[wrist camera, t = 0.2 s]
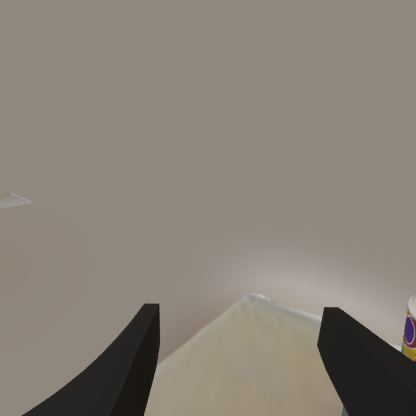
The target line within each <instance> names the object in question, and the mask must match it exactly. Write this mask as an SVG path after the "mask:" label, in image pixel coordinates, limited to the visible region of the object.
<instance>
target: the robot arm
mask: <svg viewBox="0 0 416 416" xmlns="http://www.w3.org/2000/svg"><path fill="white" fill-rule="evenodd" d="M159 315H160V314H159V304H144V305H143V306H142V307H141V309H140V310H139V312H138V313H137V314H136V315H135V317H134V318H133V319H132V321H131V322H130V323H129V324H128V326H127V327H126V328H125V329H124V330H123V331H122V332H121V334H120V335H119V336H118V337H117V338H116V339H115V340H114V341H113V342H112V344H111V345H110V346H109V347H108V348H107V349H106V350H105V351H104V352H103V353H102V354H101V355H100V356H99V357H98V358H97V359H96V360H95V361H94V362H93V363H91V364H90V365H89V366H88V367H87V368H86V369H85V370H84V371H83V372H81V373H80V374H79V375H78V376H76V377H75V378H74V379H73V380H72V381H71V382H69V383H68V384H66V385H65V386H64V387H63V388H61V389H60V390H59V391H58V392H56V393H55V394H54V395H52V396H51V397H49V398H48V399H46V400H45V401H43V402H42V403H40V404H39V405H37V406H36V407H34V408H33V409H31V410H30V411H28V412H27V413H25V414H24V415H22V416H144V413H145V409H146V405H147V401H148V398H149V394H150V390H151V386H152V382H153V378H154V374H155V370H156V366H157V360H158V353H159V346H160V319H159V318H160V316H159ZM317 346H318V349H319V352H320V355H321V358H322V361H323V363H324V366H325V369H326V371H327V373H328V375H329V377H330V379H331V381H332V383H333V385H334V387H335V389H336V391H337V393H338V395H339V397H340V399H341V401H342V403H343V405H344V407H345V409H346V411H347V413H348V415H349V416H416V362H415V361H413V360H412V359H410V358H409V357H407V356H406V355H404V354H403V353H401V352H400V351H398V350H397V349H395V348H394V347H392V346H391V345H389V344H388V343H386V342H385V341H384V340H382V339H381V338H379V337H378V336H377V335H375V334H374V333H372V332H371V331H370V330H369V329H367V328H366V327H365V326H363V325H362V324H360V323H359V322H358V321H356V320H355V319H354V318H352V317H351V316H350V315H348V314H347V313H345V312H344V311H343V310H341V309H340V308H338V307H324V312H323V317H322V322H321V328H320V333H319V338H318V344H317Z"/></svg>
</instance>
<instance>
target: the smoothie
mask: <svg viewBox="0 0 416 416" xmlns="http://www.w3.org/2000/svg"><path fill="white" fill-rule="evenodd" d="M407 309H408V312H407V318H406V324H405V330H404V337H403V343H402V350H401V353H403V354H404V355H406V356H407V357H409V358H410V359H412V360H413V361H415V362H416V295H414V296H413V297H411V298H410V299H409V300H408V304H407Z"/></svg>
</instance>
